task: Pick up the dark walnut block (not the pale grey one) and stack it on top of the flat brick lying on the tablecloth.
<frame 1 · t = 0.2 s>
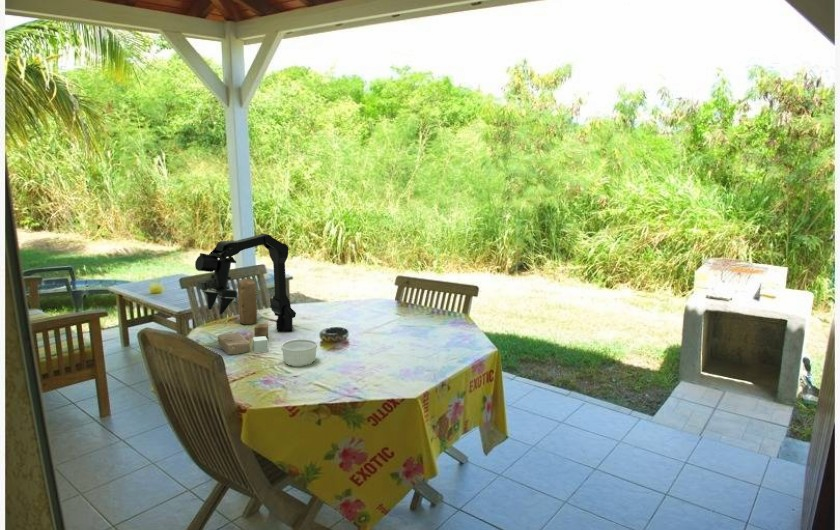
hand: (215, 311, 222), 15 cm above the table, tool pointing down, fingers open, 9 cm apart
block: (247, 322, 261), on the table
walnut block: (261, 339, 237), on the table
brick: (233, 349, 226), on the table
ramekin: (299, 362, 213), on the table
grey block: (260, 350, 224), on the table
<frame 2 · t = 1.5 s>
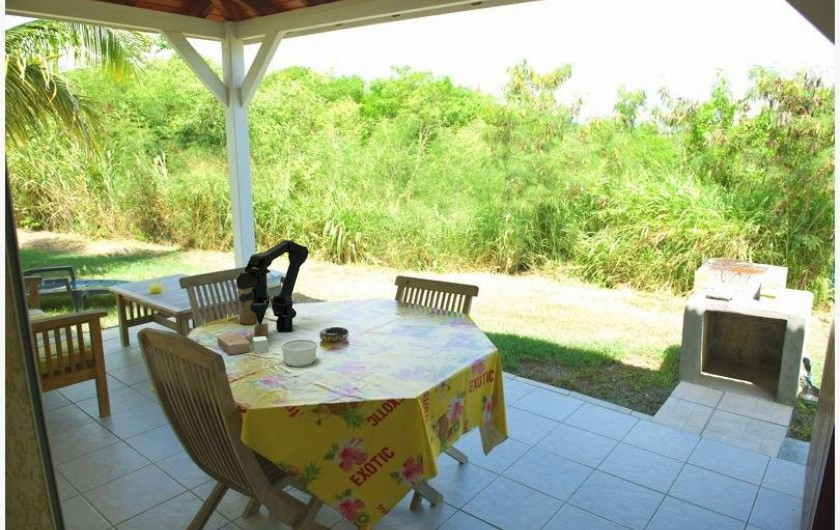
hand: (261, 320, 236), 8 cm above the table, tool pointing down, fingers open, 9 cm apart
nothing on the table moved.
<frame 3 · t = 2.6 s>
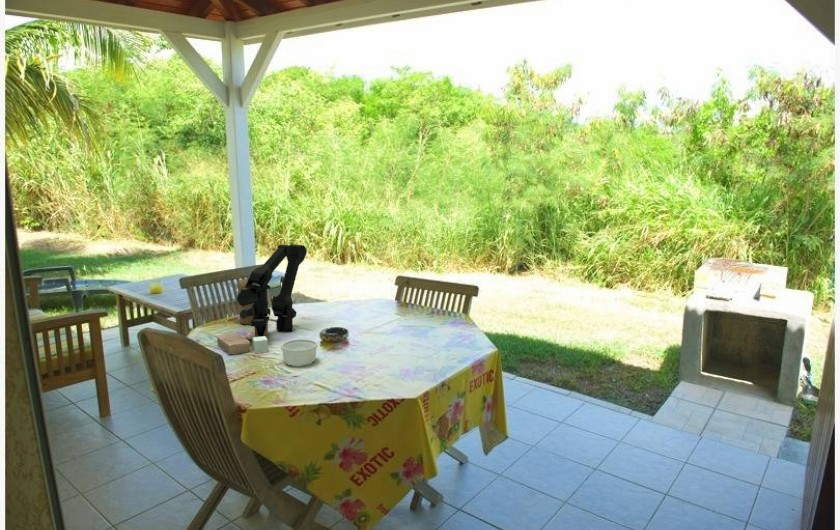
hand: (261, 336, 237), 1 cm above the table, tool pointing down, fingers closed on walnut block, 5 cm apart
walnut block: (261, 339, 237), on the table, touching gripper
everything else where it was.
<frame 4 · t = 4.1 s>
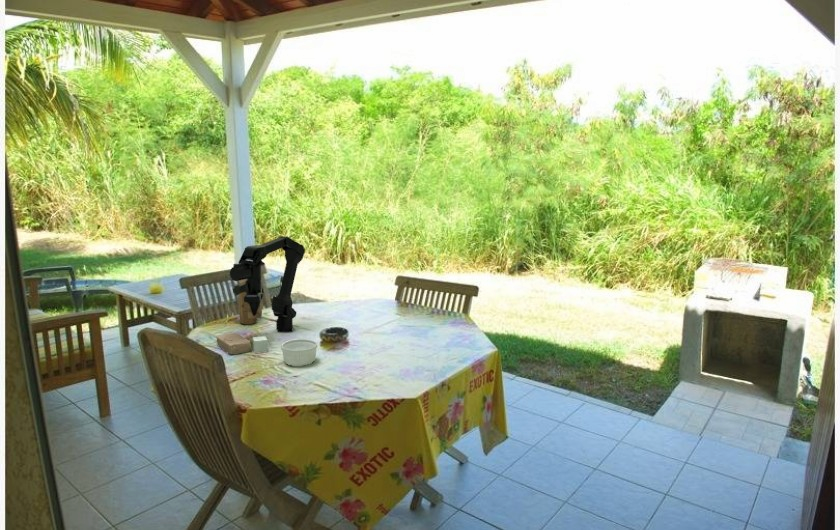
hand: (254, 313, 232), 12 cm above the table, tool pointing down, fingers closed on walnut block, 5 cm apart
walnut block: (255, 316, 233), point 11 cm above the table, touching gripper
everything else where it was.
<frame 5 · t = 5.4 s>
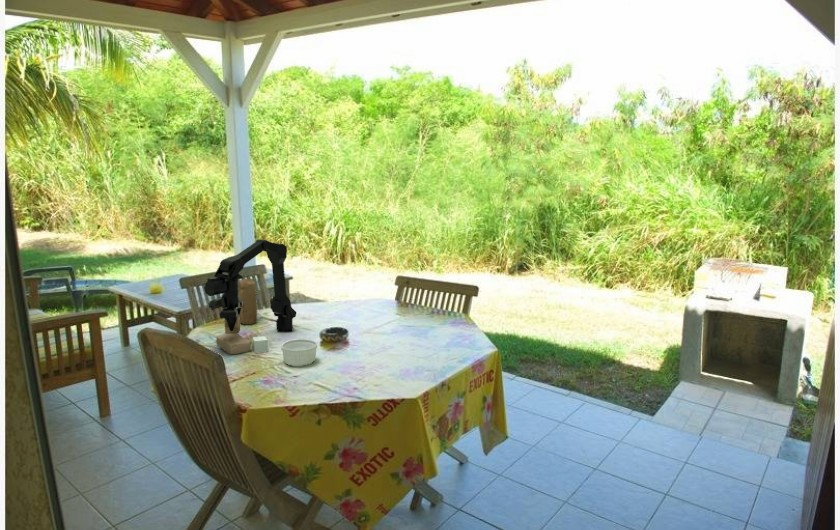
hand: (232, 328, 224), 8 cm above the table, tool pointing down, fingers closed on walnut block, 5 cm apart
walnut block: (232, 331, 225), point 7 cm above the table, touching gripper
everything else where it was.
when the fingers open (8 cm above the table, at t = 5.8 s): walnut block drops 2 cm, resting on brick.
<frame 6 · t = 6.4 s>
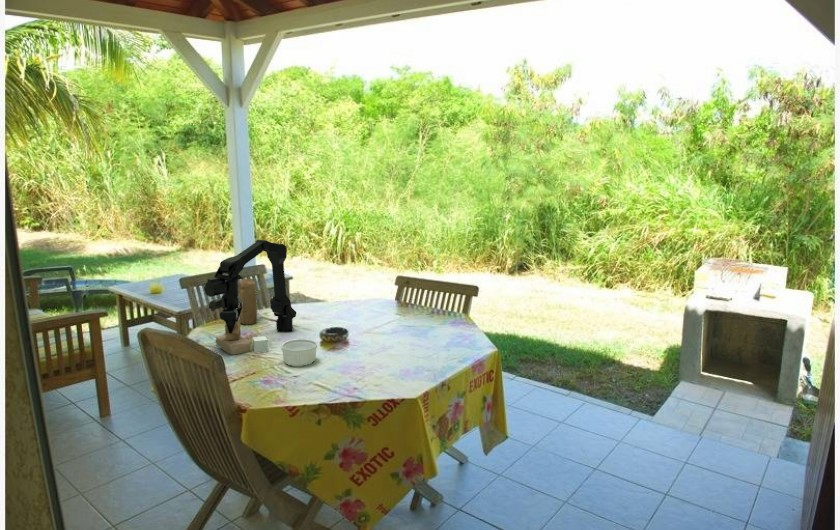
hand: (232, 329, 224), 8 cm above the table, tool pointing down, fingers open, 9 cm apart
walnut block: (233, 337, 225), point 4 cm above the table, touching brick
brick: (233, 349, 226), on the table, touching walnut block
everything else where it was.
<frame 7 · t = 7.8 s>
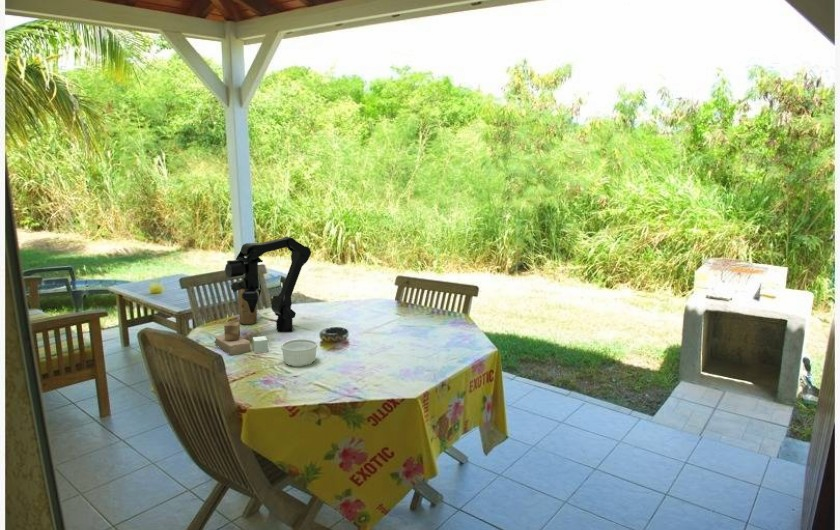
hand: (253, 309, 237), 12 cm above the table, tool pointing down, fingers open, 9 cm apart
nothing on the table moved.
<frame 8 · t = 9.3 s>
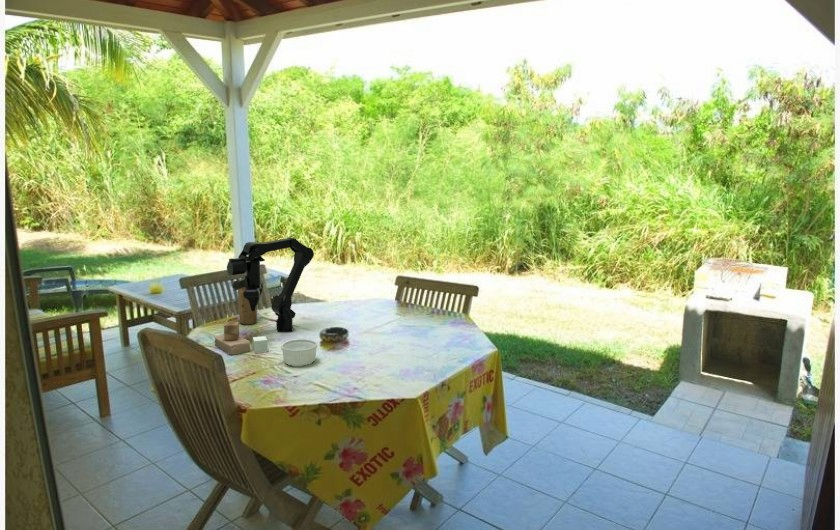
hand: (254, 308, 238), 13 cm above the table, tool pointing down, fingers open, 9 cm apart
nothing on the table moved.
at the end: walnut block inside the target area on the brick (0.1 cm from its centre), point 4.8 cm above the brick's base; walnut block tilted 0°; the gripper is holding nothing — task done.
